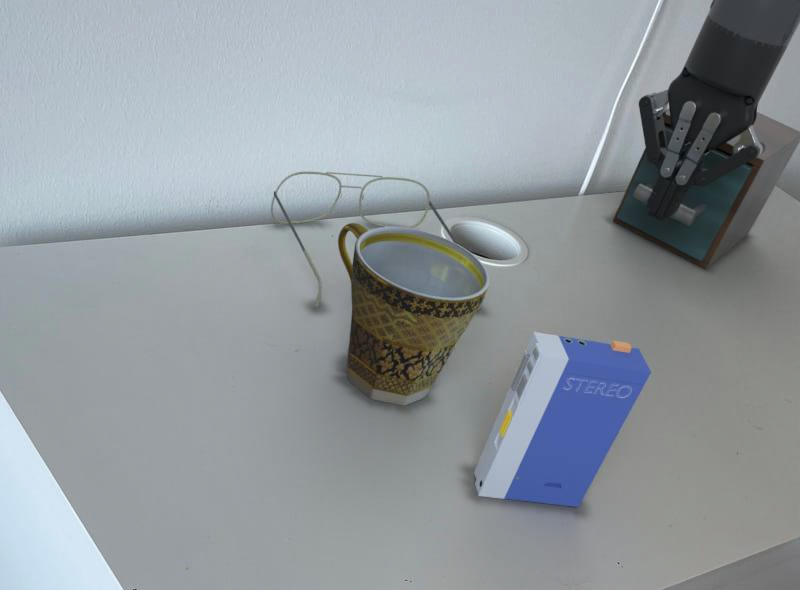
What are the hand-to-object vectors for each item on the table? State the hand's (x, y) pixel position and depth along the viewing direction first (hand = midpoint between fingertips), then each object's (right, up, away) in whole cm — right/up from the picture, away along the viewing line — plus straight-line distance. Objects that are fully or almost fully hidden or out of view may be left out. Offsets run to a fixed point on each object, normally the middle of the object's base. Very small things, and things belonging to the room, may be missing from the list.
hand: (657, 215), depth 99 cm
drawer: (+5, +3, +10) cm, 11 cm away
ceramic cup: (-30, -21, -21) cm, 42 cm away
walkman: (-19, -32, -27) cm, 46 cm away
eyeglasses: (-29, -9, -9) cm, 32 cm away
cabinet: (+7, +4, +13) cm, 16 cm away
